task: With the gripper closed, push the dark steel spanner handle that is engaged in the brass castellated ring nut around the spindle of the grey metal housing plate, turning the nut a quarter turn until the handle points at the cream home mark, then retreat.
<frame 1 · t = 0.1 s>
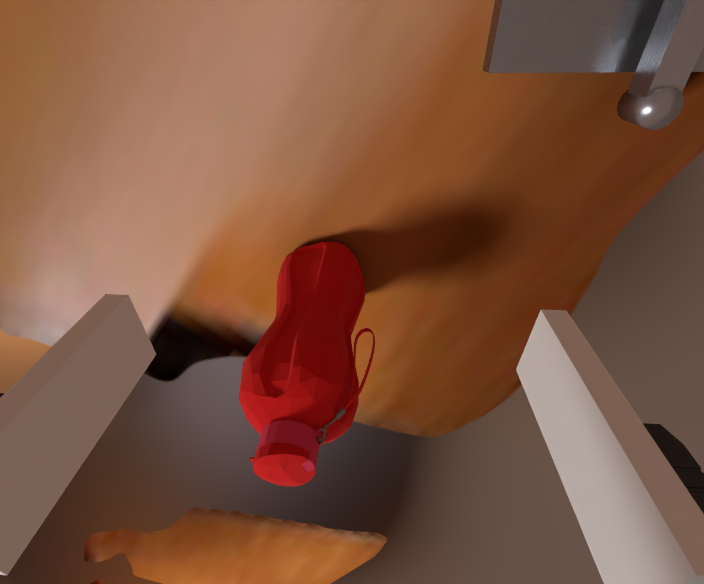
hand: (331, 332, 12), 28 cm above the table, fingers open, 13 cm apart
water bottle: (332, 269, 44), on the table
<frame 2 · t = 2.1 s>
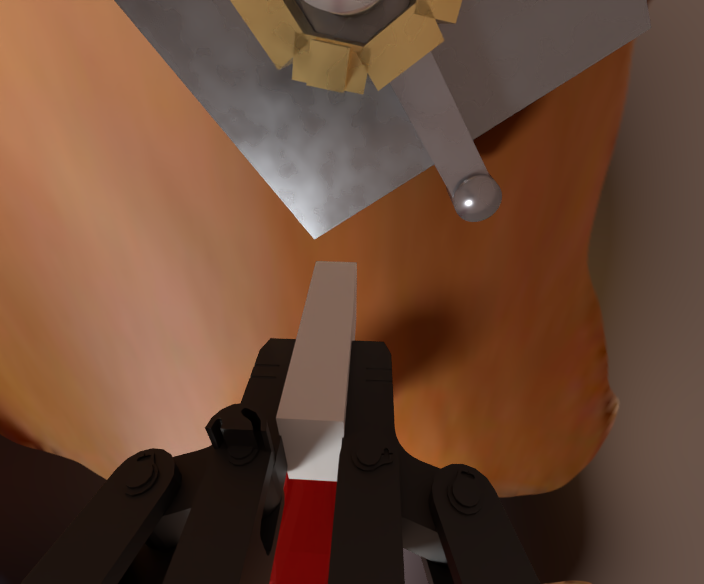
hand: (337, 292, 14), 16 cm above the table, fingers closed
ring nut: (402, 54, 18), point 5 cm above the table, hinge at 0.0°
water bottle: (333, 405, 46), on the table
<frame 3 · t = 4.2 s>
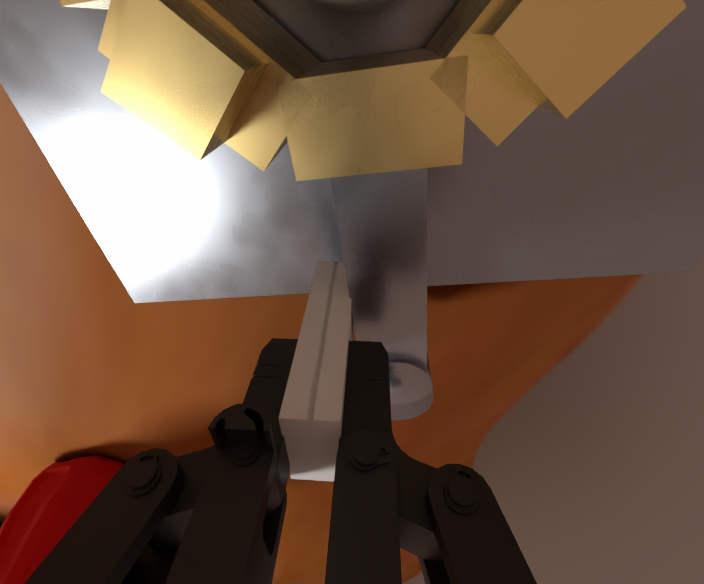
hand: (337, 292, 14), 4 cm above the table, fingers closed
ring nut: (375, 133, 9), point 5 cm above the table, hinge at 0.3°, touching gripper
water bottle: (117, 474, 33), on the table
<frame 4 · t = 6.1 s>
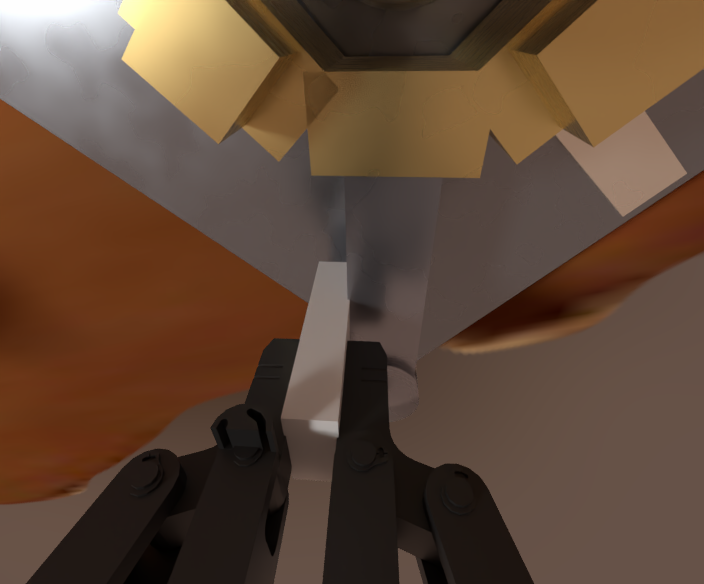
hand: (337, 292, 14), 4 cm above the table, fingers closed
ring nut: (394, 136, 9), point 5 cm above the table, hinge at 40.5°, touching gripper
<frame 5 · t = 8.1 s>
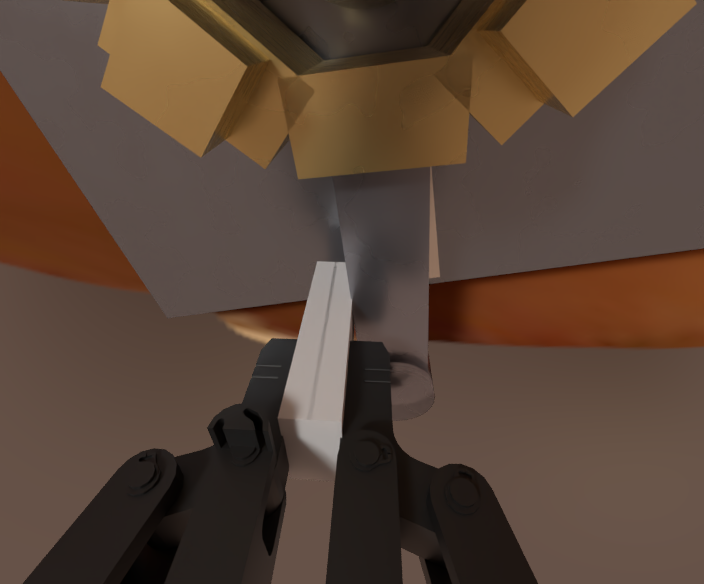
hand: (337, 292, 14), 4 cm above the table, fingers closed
ring nut: (378, 131, 9), point 5 cm above the table, hinge at 84.8°, touching gripper
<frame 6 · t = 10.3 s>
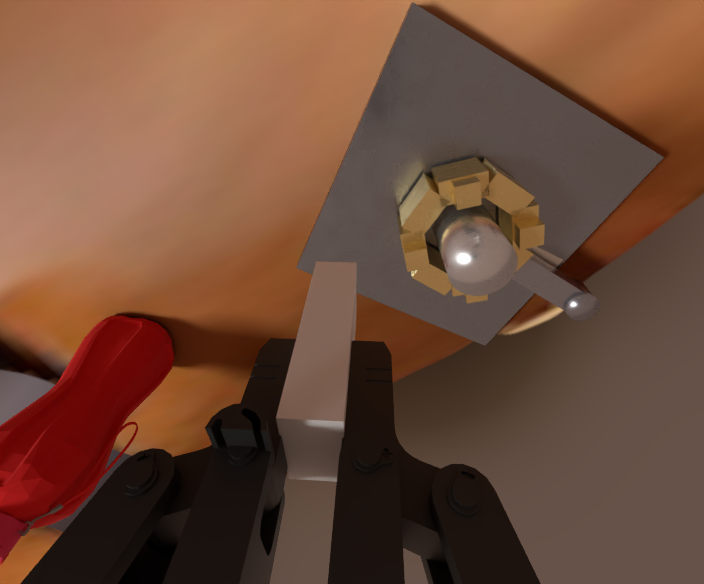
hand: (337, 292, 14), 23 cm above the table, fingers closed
ring nut: (508, 260, 32), point 5 cm above the table, hinge at 84.8°
housing: (454, 211, 35), on the table
water bottle: (149, 339, 48), on the table
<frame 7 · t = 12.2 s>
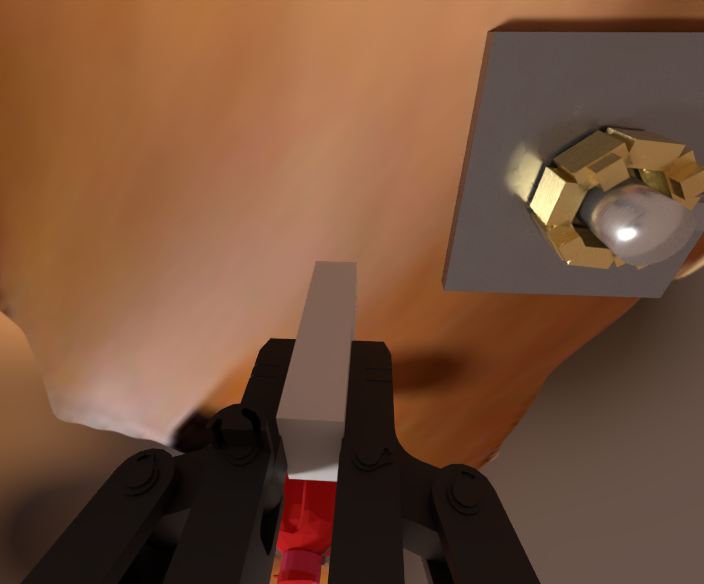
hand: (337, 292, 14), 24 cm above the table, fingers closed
ring nut: (669, 211, 31), point 5 cm above the table, hinge at 84.8°
housing: (583, 184, 35), on the table
water bottle: (330, 386, 56), on the table
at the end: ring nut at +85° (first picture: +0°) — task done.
